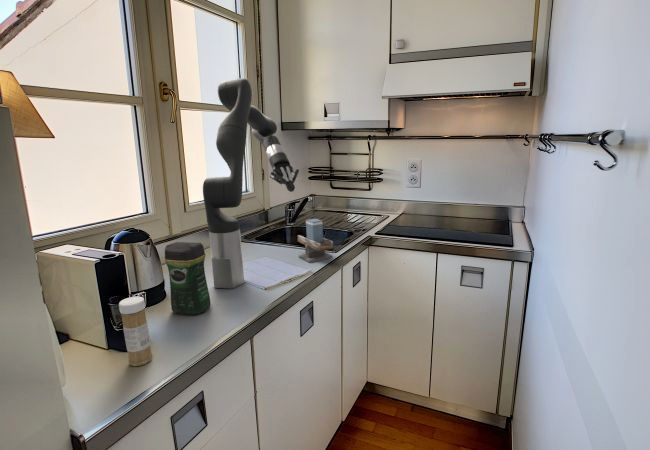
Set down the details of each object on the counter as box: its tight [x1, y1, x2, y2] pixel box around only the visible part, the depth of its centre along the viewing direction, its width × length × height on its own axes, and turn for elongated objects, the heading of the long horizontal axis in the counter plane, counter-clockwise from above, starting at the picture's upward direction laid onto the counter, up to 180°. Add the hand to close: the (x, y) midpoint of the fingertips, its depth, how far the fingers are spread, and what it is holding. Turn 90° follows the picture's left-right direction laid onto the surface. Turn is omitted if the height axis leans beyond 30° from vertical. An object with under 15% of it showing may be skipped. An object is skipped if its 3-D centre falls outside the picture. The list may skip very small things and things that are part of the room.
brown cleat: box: [297, 234, 334, 264], centre depth 141 cm, size 16×10×8 cm, turn 32°
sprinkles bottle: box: [118, 296, 153, 367], centre depth 77 cm, size 5×5×14 cm
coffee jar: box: [164, 241, 212, 316], centre depth 99 cm, size 10×8×19 cm
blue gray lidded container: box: [305, 218, 324, 243], centre depth 140 cm, size 5×4×8 cm
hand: (292, 190), depth 150 cm, fingers closed
